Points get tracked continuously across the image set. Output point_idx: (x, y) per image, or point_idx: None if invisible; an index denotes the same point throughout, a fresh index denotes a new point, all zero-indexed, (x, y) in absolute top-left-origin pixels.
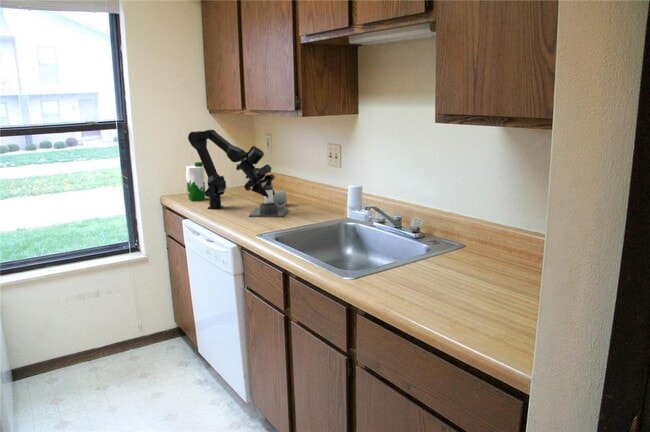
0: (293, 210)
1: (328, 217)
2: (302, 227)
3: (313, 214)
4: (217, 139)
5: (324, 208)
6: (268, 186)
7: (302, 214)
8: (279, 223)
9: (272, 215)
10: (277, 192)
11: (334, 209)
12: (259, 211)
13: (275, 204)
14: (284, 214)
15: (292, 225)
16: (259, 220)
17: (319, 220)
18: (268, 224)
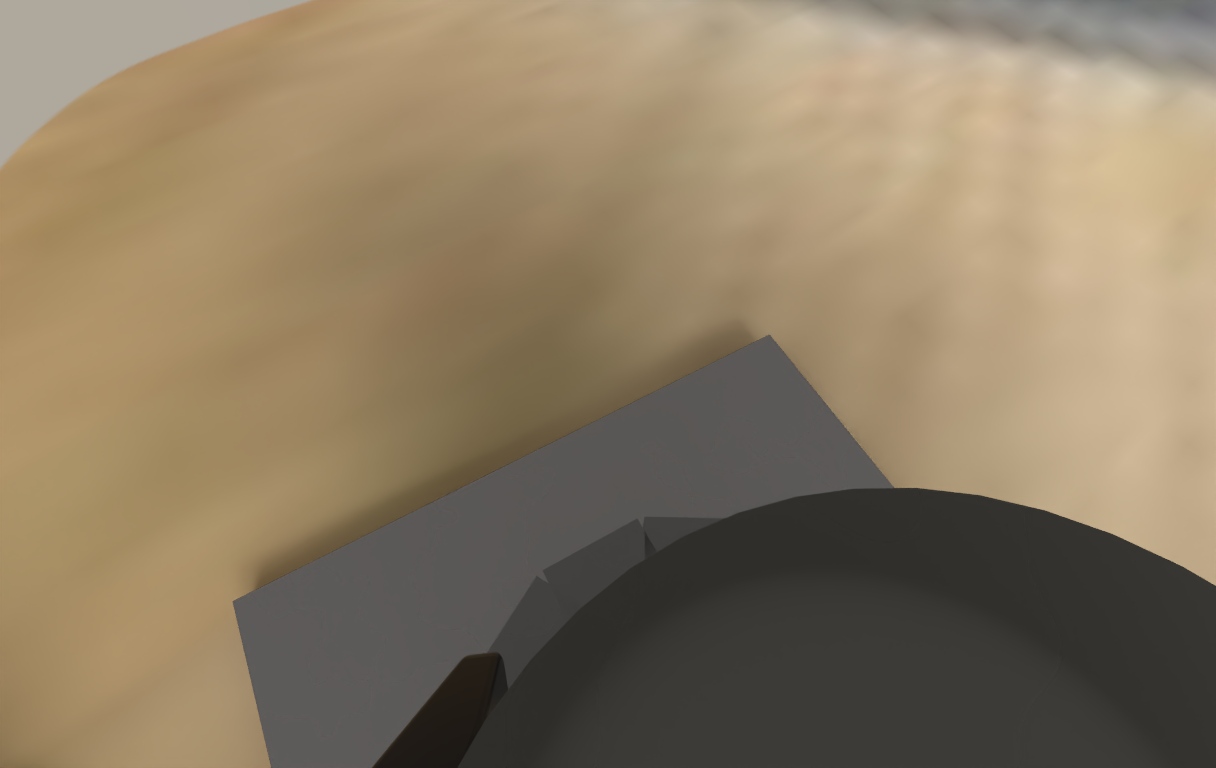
0: (278, 492)
1: (504, 18)
2: (968, 7)
3: (436, 160)
4: None
5: (42, 217)
6: (1203, 627)
7: (492, 248)
8: (1044, 209)
9: (882, 474)
10: None
11: (92, 118)
12: None
13: None
14: (686, 379)
15: (989, 85)
16: (1185, 513)
17: (657, 20)
18: (1191, 274)
